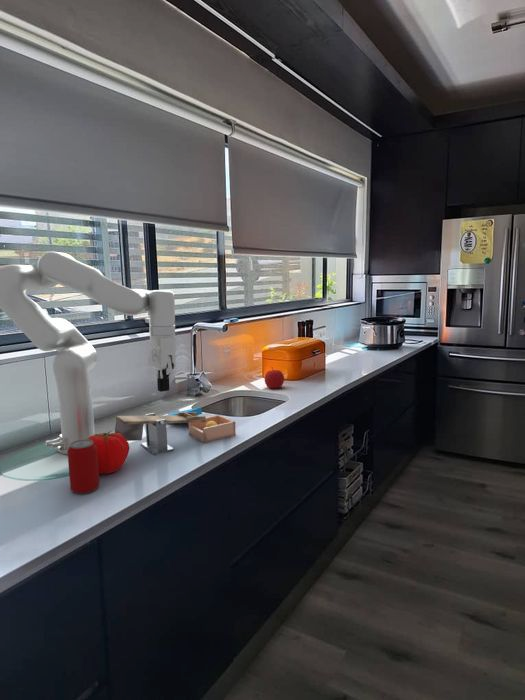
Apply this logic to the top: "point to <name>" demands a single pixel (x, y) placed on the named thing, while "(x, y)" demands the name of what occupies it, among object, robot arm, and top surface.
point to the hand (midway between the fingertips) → (163, 390)
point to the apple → (274, 379)
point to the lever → (134, 424)
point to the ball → (211, 423)
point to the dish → (213, 429)
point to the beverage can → (83, 466)
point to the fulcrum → (156, 437)
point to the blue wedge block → (197, 410)
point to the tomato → (110, 451)
